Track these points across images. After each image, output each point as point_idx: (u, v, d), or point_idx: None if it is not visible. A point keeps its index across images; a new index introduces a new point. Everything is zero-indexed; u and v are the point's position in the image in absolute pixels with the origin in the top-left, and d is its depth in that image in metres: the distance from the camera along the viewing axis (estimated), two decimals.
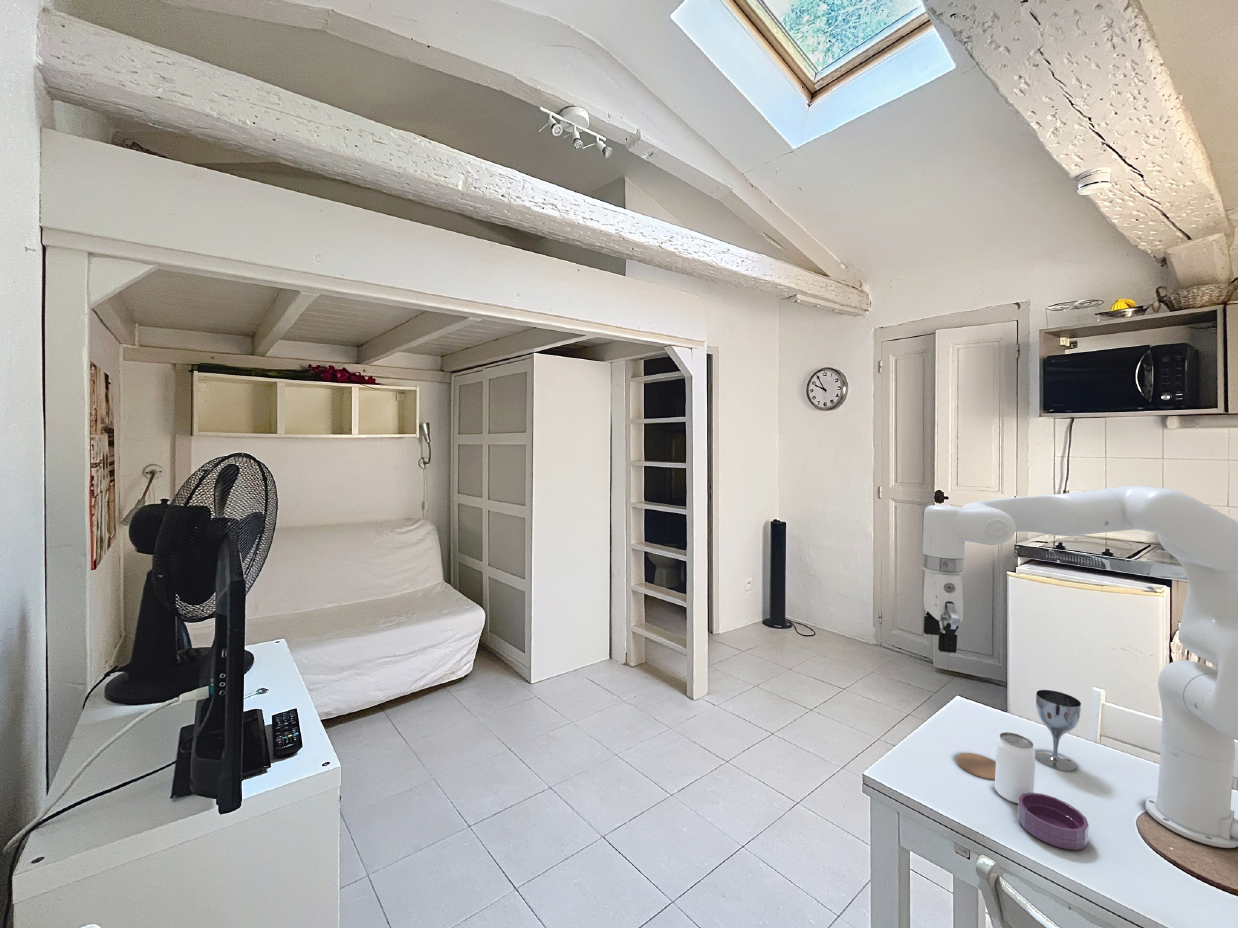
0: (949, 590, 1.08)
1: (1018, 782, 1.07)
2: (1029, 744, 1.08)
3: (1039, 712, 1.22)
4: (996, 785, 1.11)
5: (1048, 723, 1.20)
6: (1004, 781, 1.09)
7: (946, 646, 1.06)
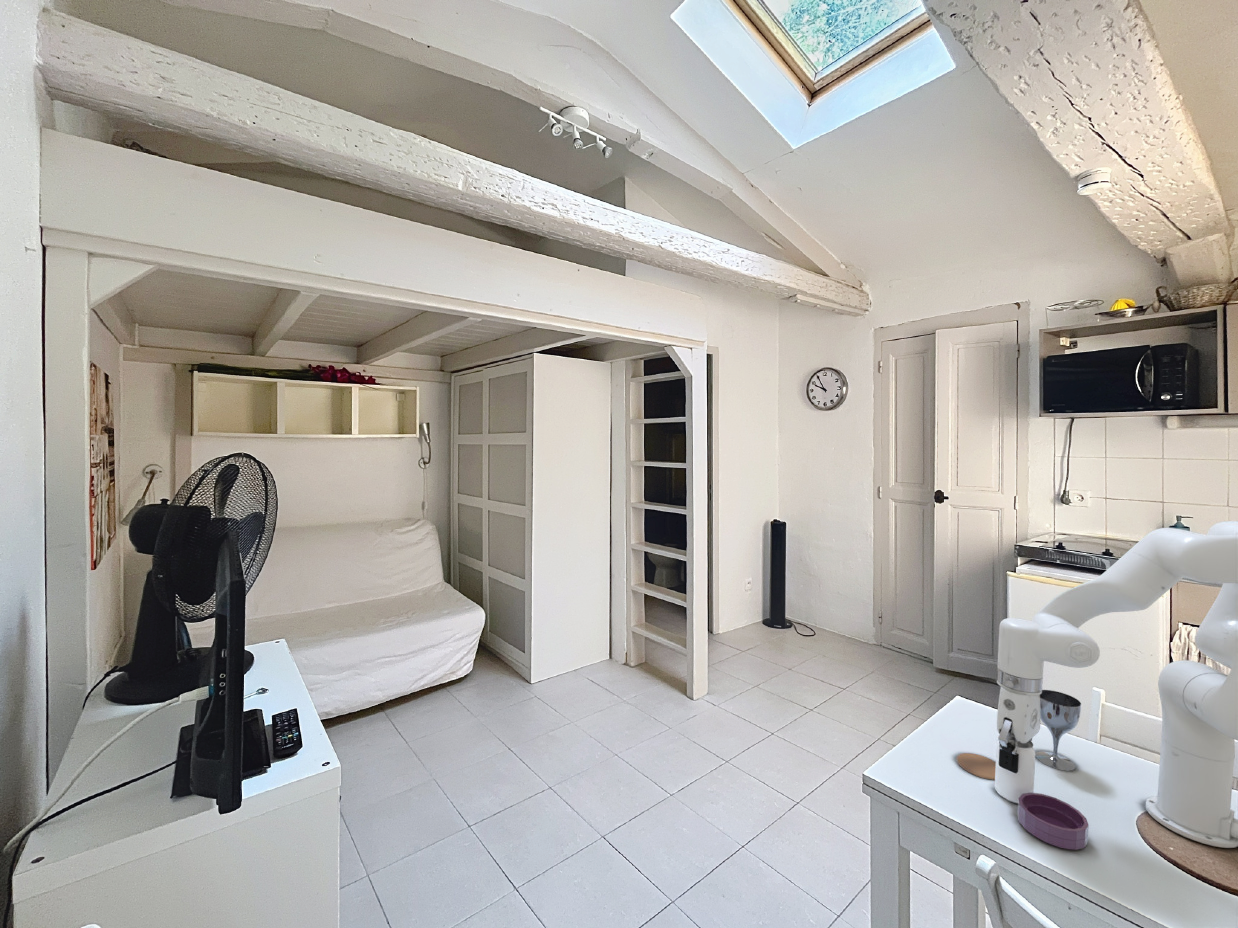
0: (1012, 707, 1.07)
1: (1018, 782, 1.07)
2: (1029, 744, 1.08)
3: None
4: (996, 785, 1.11)
5: (1048, 723, 1.20)
6: (1004, 781, 1.09)
7: (1003, 763, 1.07)
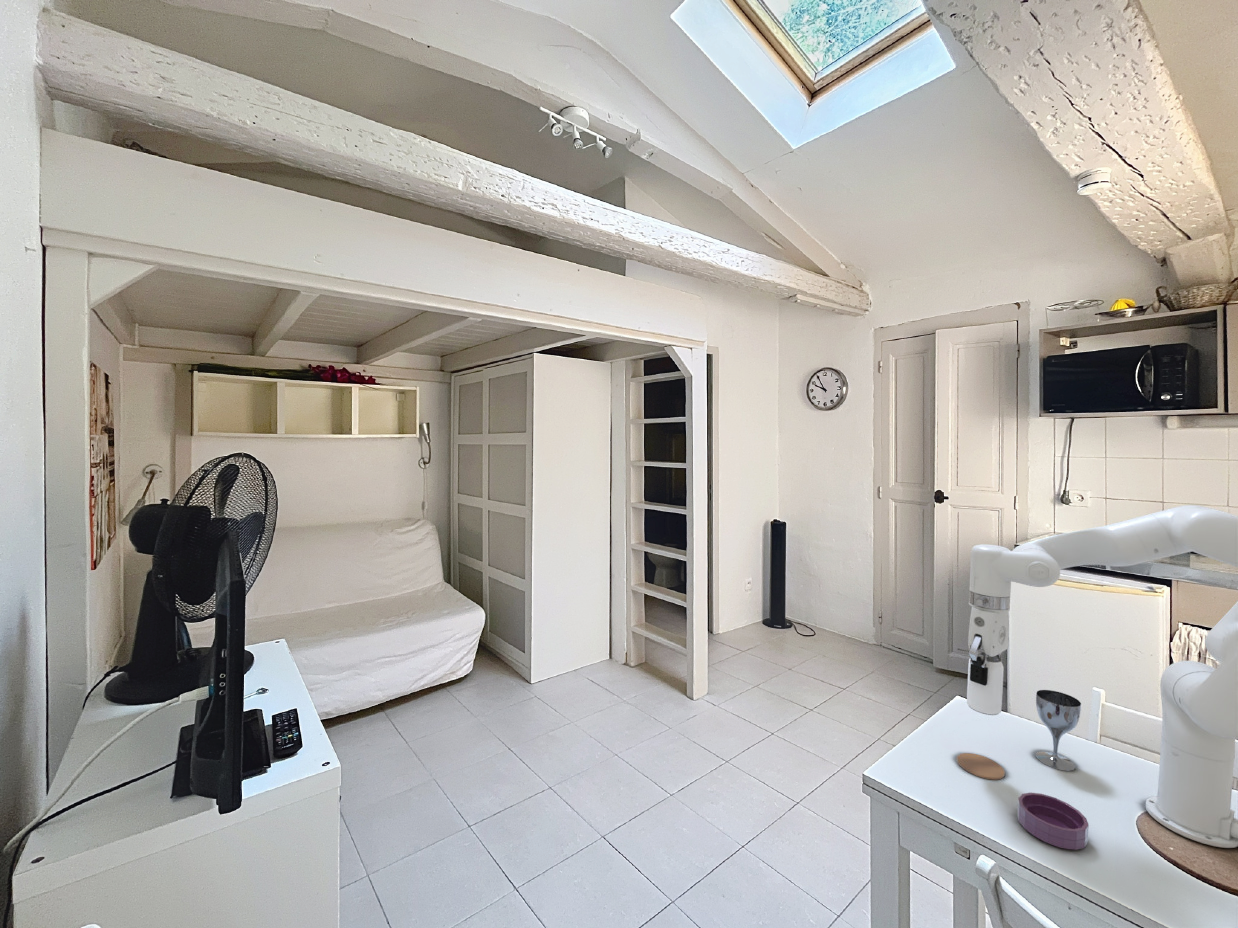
0: (982, 624, 1.15)
1: (987, 694, 1.15)
2: (998, 660, 1.17)
3: (1039, 712, 1.22)
4: (968, 700, 1.19)
5: (1048, 723, 1.20)
6: (974, 694, 1.17)
7: (974, 676, 1.16)
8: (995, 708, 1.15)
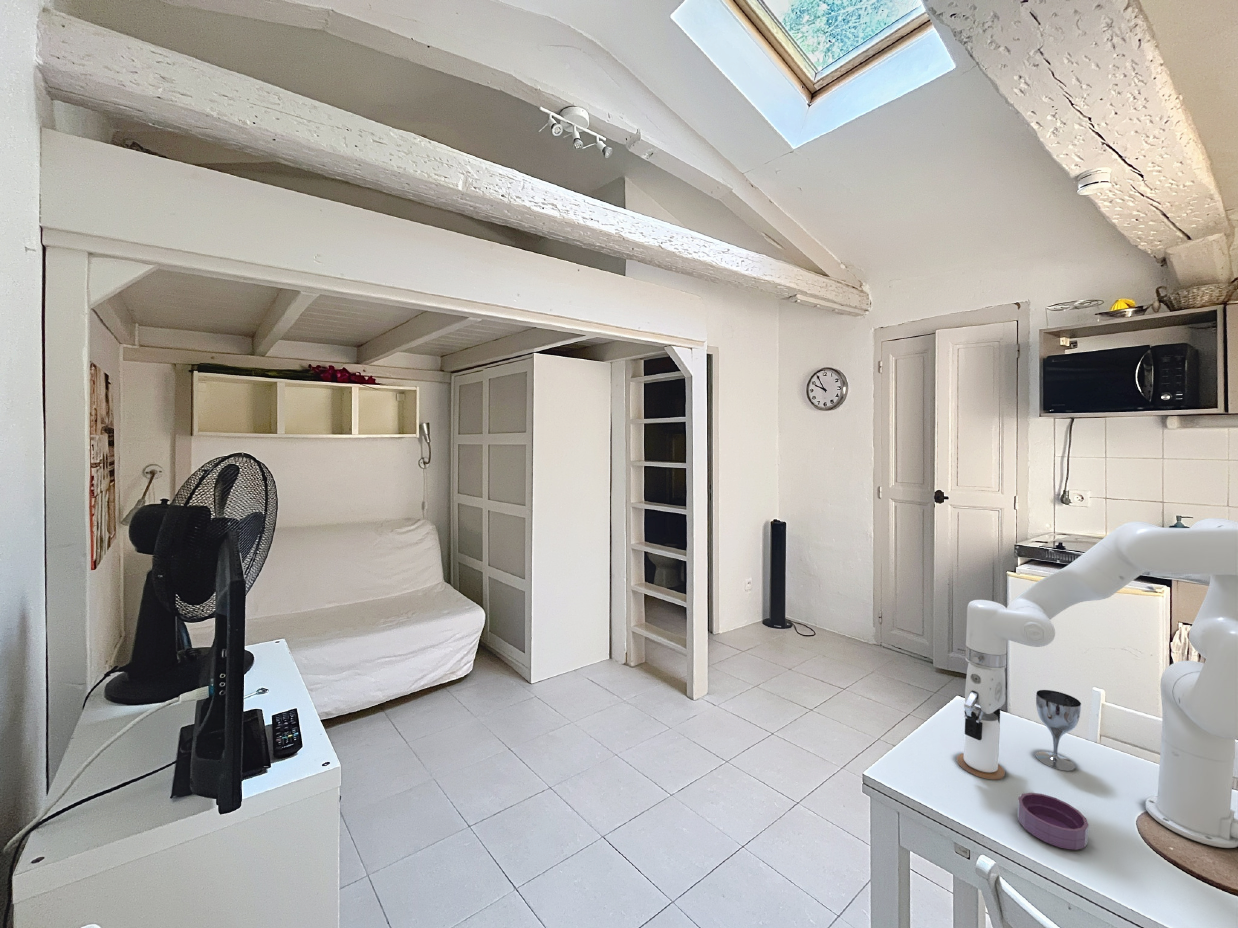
0: (979, 681, 1.16)
1: (983, 752, 1.16)
2: (994, 718, 1.18)
3: (1039, 712, 1.22)
4: (964, 756, 1.20)
5: (1048, 723, 1.20)
6: (971, 752, 1.18)
7: (969, 731, 1.16)
8: (991, 766, 1.16)
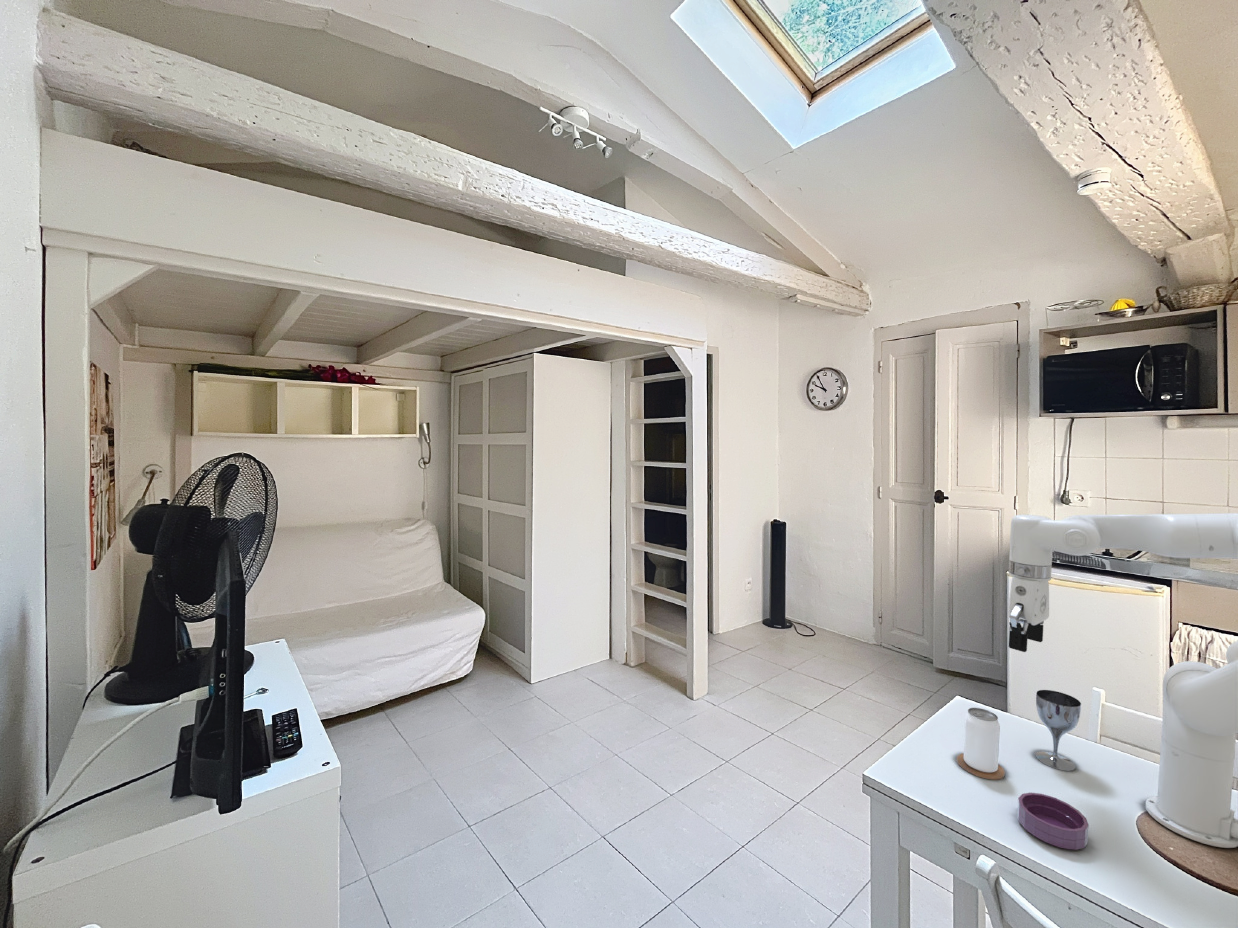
0: (1023, 593, 1.15)
1: (983, 752, 1.16)
2: (994, 718, 1.18)
3: (1039, 712, 1.22)
4: (964, 756, 1.20)
5: (1048, 723, 1.20)
6: (971, 752, 1.18)
7: (1013, 643, 1.15)
8: (991, 766, 1.16)
